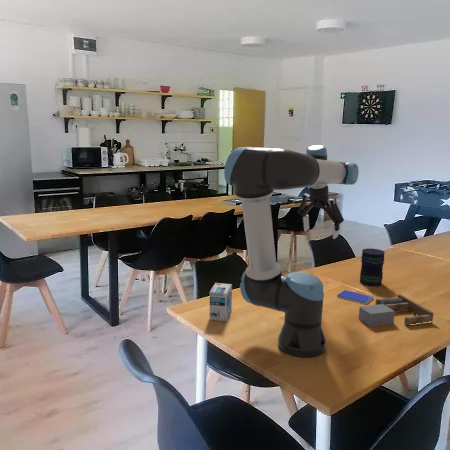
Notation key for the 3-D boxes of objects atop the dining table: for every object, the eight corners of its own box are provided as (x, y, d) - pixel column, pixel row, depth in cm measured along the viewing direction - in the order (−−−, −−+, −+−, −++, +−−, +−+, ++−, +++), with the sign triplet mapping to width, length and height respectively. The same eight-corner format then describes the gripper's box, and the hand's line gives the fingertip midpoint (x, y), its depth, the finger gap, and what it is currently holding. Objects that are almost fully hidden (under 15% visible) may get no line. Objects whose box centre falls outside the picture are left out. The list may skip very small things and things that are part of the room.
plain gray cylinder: (385, 311, 176) (386, 301, 176) (379, 307, 180) (380, 298, 179) (403, 309, 178) (404, 299, 178) (397, 306, 182) (397, 296, 181)
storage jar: (381, 287, 202) (384, 255, 199) (358, 285, 205) (361, 253, 202) (381, 280, 211) (384, 249, 208) (359, 278, 215) (362, 247, 211)
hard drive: (373, 296, 189) (345, 289, 196) (366, 301, 183) (337, 294, 190) (373, 299, 189) (345, 293, 197) (365, 305, 183) (337, 298, 190)
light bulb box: (226, 321, 165) (227, 293, 162) (208, 320, 166) (209, 292, 164) (231, 310, 175) (232, 283, 173) (214, 308, 176) (215, 282, 174)
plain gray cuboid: (369, 327, 163) (370, 314, 162) (358, 319, 169) (359, 306, 168) (393, 324, 166) (394, 311, 164) (381, 316, 172) (382, 303, 171)
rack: (405, 326, 163) (407, 315, 162) (375, 306, 181) (376, 296, 180) (432, 323, 166) (433, 312, 165) (399, 303, 184) (400, 294, 183)
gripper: (352, 186, 171) (353, 236, 180) (297, 177, 187) (300, 223, 197) (341, 193, 166) (343, 244, 176) (286, 183, 183) (290, 230, 192)
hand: (320, 233), depth 186 cm, fingers open, 13 cm apart
